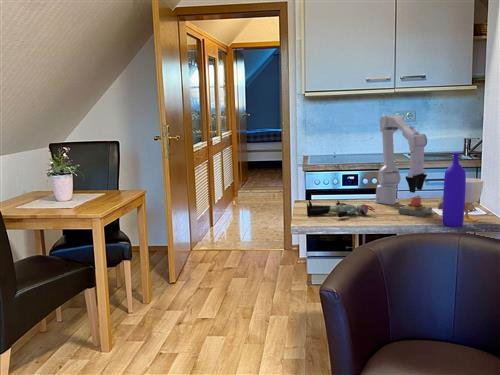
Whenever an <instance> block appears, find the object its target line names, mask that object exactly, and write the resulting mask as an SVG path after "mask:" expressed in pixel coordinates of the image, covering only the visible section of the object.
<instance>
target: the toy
mask: <svg viewBox="0 0 500 375" xmlns="http://www.w3.org/2000/svg"><path fill="white" fill-rule="evenodd" d="M368 211H371V212H375V208H373V207H372V206H370V205H367V204H364V203H363V204H359V205H357V206H355V205H353V204H349V203H348V204H347V203H345V202H344V203H343V202H340V201H339V200H336V203H335V205H332V206H331V205H319V204H318V205H316V204H312V202H311V200H310V199H308V203H306V214H307V215H306V216H307V217H309V216H310V217H312V216H314V217H315V216H317V217H318V215H319V216H323V215H326V214H328V213H336V215H335V217H336V218H344V217H346V216H347V215H350V216H351V215H354V214H355V213H357V214H358V215H360V216H366V215H367V214H368Z"/></svg>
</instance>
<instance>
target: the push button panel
mask: <svg viewBox="0 0 500 375" xmlns="http://www.w3.org/2000/svg"><path fill="white" fill-rule="evenodd" d="M410 204H411V203H406V204H405V205H403V206H400V207H398V214H399V213H401V214H400V215H406V214H409V215H408V216H413V215H416V216H415V217H421V216H422V218H423V217H424V218H425V217H427V216H429V215H431V214H432V213H433V207H431V206H428V207H426V205H425V204H422V203H421V207H412V206H410Z"/></svg>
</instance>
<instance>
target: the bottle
mask: <svg viewBox="0 0 500 375" xmlns="http://www.w3.org/2000/svg"><path fill="white" fill-rule="evenodd" d="M451 154H452V155H453V159H452V163H451V164H450V165H449V166H448V167H447V168H446V170H445V171H444V175H443V176H444V179H443V191H442V192H443V195H442V197H443V210H442V226H445V227H448V228H460V227H463V225H464V222H465V221H464V216H465V211H464V207H465V186H466V178H467V177H466V175H467V174H466V171H465V169H464V167H463V166H462V165H461V164H460V162H459V156H460V154H461V152H459V151H458V152H455V151H453V152H452V153H451Z"/></svg>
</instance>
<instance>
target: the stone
mask: <svg viewBox="0 0 500 375" xmlns="http://www.w3.org/2000/svg"><path fill="white" fill-rule="evenodd" d="M440 209H443V196H441V197H440V198H439V201H438V203H437V210H440ZM473 209H475V210H476V208H475V205H474V203H472V204H469V206H468V210H472V211H474V210H473ZM464 212H466V205H465V207H464Z"/></svg>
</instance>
